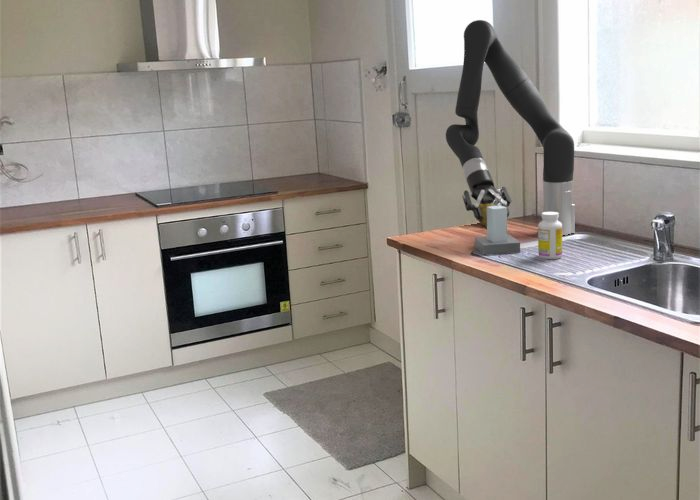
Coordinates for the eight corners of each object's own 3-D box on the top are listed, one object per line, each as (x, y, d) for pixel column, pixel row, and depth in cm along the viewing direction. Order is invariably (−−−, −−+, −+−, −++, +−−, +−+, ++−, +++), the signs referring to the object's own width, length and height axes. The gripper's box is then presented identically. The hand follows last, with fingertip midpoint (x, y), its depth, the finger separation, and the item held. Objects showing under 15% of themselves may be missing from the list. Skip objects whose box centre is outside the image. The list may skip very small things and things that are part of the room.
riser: (509, 244, 241) (509, 234, 241) (520, 252, 231) (520, 242, 230) (474, 246, 241) (474, 237, 240) (483, 255, 230) (483, 245, 229)
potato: (481, 229, 263) (481, 206, 261) (470, 222, 276) (470, 200, 274) (505, 227, 264) (504, 204, 262) (493, 220, 277) (493, 198, 275)
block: (500, 237, 238) (500, 205, 235) (507, 240, 233) (507, 207, 231) (487, 239, 237) (486, 206, 234) (493, 242, 232) (493, 209, 230)
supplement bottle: (560, 253, 227) (560, 210, 224) (563, 259, 220) (564, 215, 217) (536, 254, 227) (536, 211, 224) (539, 260, 221) (539, 215, 218)
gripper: (459, 170, 238) (475, 213, 230) (502, 166, 242) (519, 208, 234) (453, 185, 244) (468, 227, 236) (494, 181, 248) (511, 223, 240)
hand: (494, 218), depth 235 cm, fingers open, 8 cm apart
